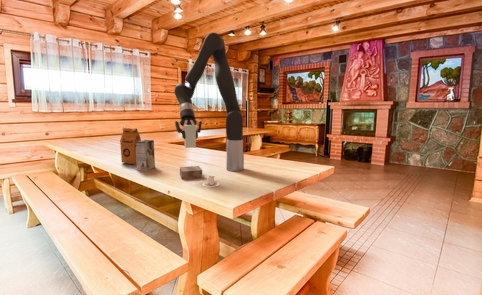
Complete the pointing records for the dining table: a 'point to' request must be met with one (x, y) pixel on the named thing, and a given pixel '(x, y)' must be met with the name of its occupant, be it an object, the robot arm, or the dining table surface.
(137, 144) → the coffee box
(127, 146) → the coffee package
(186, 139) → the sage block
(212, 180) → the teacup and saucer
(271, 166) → the dining table surface
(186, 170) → the walnut plinth
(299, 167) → the dining table surface
